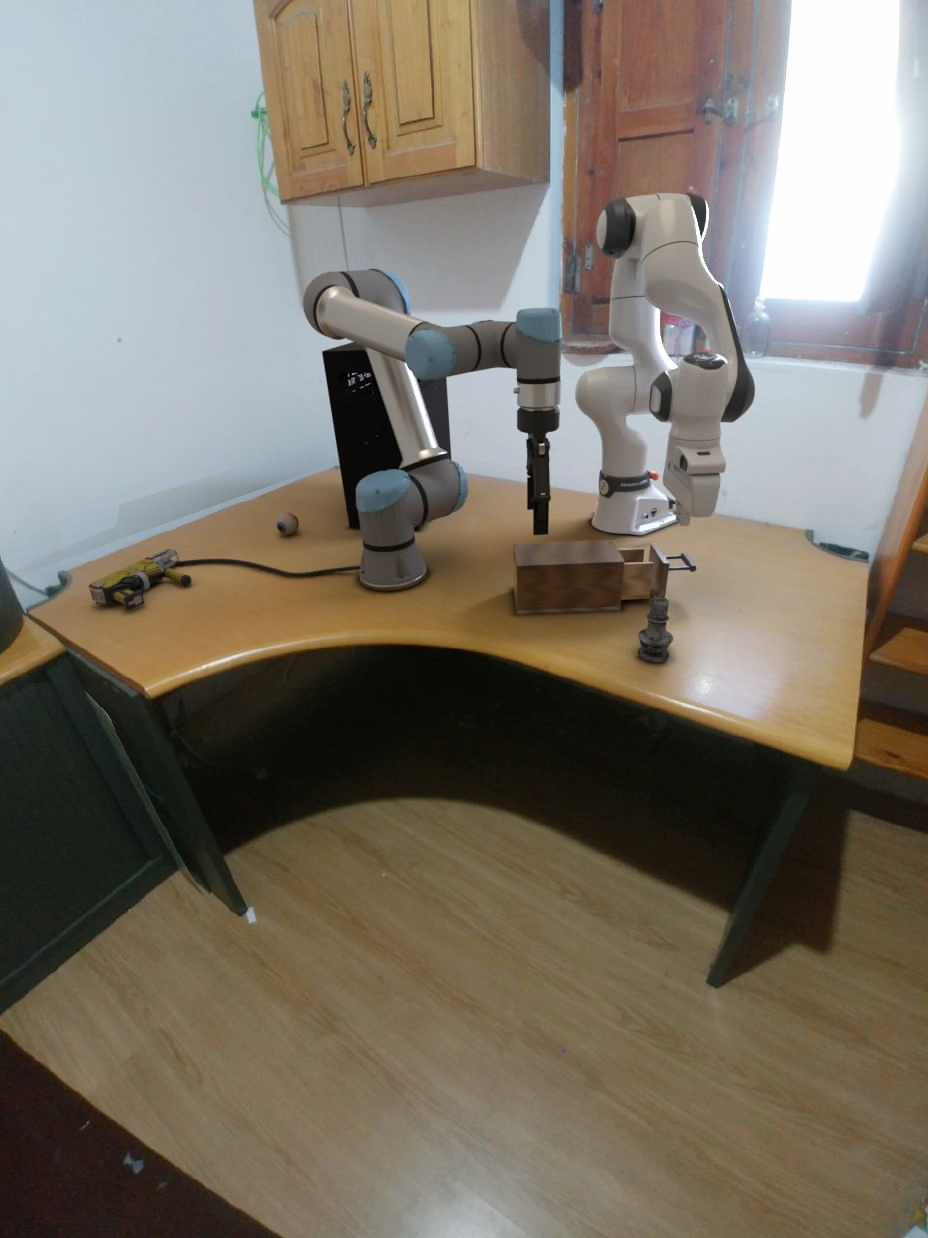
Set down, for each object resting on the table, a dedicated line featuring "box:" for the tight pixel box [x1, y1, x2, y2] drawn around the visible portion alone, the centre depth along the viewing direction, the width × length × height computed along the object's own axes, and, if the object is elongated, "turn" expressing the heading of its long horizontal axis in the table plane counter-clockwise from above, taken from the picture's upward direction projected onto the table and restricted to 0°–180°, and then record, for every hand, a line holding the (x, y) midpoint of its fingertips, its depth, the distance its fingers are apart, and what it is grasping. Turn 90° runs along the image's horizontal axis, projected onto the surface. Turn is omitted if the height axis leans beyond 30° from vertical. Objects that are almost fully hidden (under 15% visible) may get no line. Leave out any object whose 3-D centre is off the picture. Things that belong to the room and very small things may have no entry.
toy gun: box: [88, 547, 192, 612], centre depth 139 cm, size 5×24×15 cm
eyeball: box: [275, 511, 300, 536], centre depth 163 cm, size 6×6×6 cm
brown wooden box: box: [512, 539, 624, 615], centre depth 122 cm, size 21×11×11 cm, turn 90°
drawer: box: [618, 543, 697, 601], centre depth 122 cm, size 25×10×9 cm, turn 90°
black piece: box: [321, 341, 453, 532], centre depth 169 cm, size 38×20×45 cm, turn 167°
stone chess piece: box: [637, 593, 674, 663], centre depth 103 cm, size 6×6×12 cm
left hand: (537, 521), depth 117 cm, fingers open, 13 cm apart
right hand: (682, 523), depth 116 cm, fingers closed
